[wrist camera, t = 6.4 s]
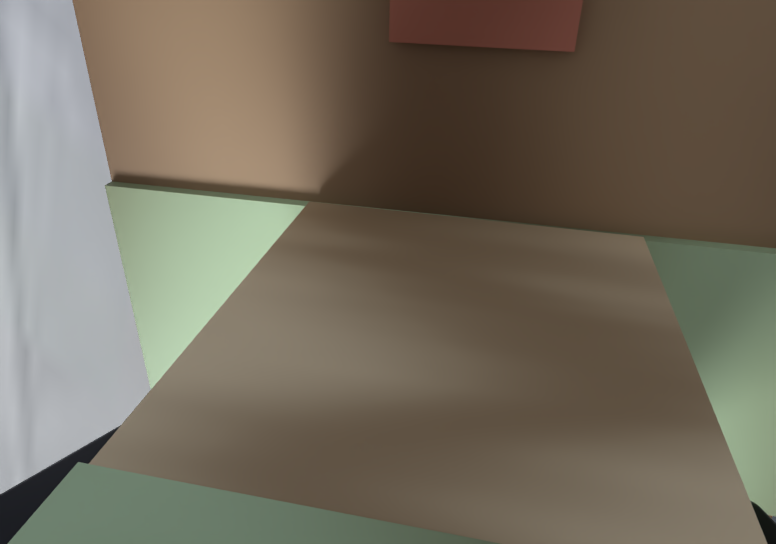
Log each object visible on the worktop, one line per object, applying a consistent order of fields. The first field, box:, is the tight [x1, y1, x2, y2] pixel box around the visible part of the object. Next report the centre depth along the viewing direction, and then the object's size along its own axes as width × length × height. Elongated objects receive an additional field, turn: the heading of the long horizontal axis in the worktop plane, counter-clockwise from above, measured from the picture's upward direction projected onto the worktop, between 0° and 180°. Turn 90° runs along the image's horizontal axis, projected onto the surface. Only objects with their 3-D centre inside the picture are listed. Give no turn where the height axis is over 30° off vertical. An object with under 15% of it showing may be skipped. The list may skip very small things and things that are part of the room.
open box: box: [73, 0, 776, 518], centre depth 11 cm, size 12×12×4 cm
